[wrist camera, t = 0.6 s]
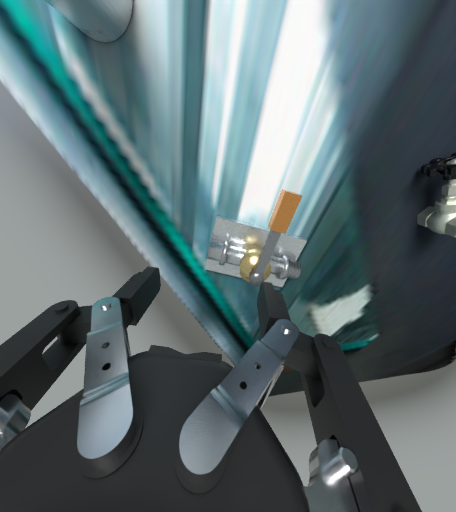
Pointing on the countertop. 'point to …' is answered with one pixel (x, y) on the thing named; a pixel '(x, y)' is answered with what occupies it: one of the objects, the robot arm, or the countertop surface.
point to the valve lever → (275, 232)
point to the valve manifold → (252, 251)
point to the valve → (449, 206)
